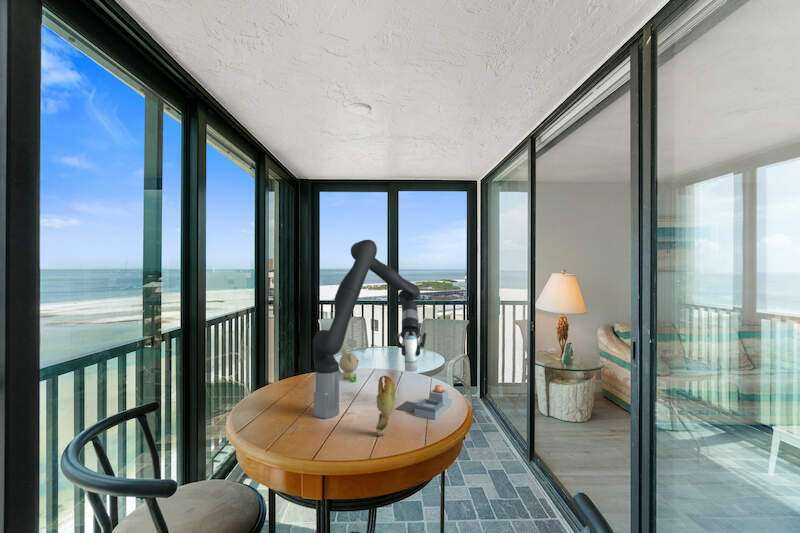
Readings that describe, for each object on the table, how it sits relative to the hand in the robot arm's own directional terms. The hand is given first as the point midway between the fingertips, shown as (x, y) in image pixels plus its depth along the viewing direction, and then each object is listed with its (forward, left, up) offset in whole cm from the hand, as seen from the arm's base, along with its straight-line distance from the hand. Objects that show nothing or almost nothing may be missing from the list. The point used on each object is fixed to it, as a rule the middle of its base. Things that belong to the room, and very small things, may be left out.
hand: (411, 355), depth 145 cm
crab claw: (-24, -2, -23) cm, 33 cm away
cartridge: (+2, +1, -7) cm, 7 cm away
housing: (+4, -8, -23) cm, 24 cm away
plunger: (+10, -8, -17) cm, 21 cm away
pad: (+3, +2, -23) cm, 23 cm away
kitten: (+24, +50, -23) cm, 60 cm away
